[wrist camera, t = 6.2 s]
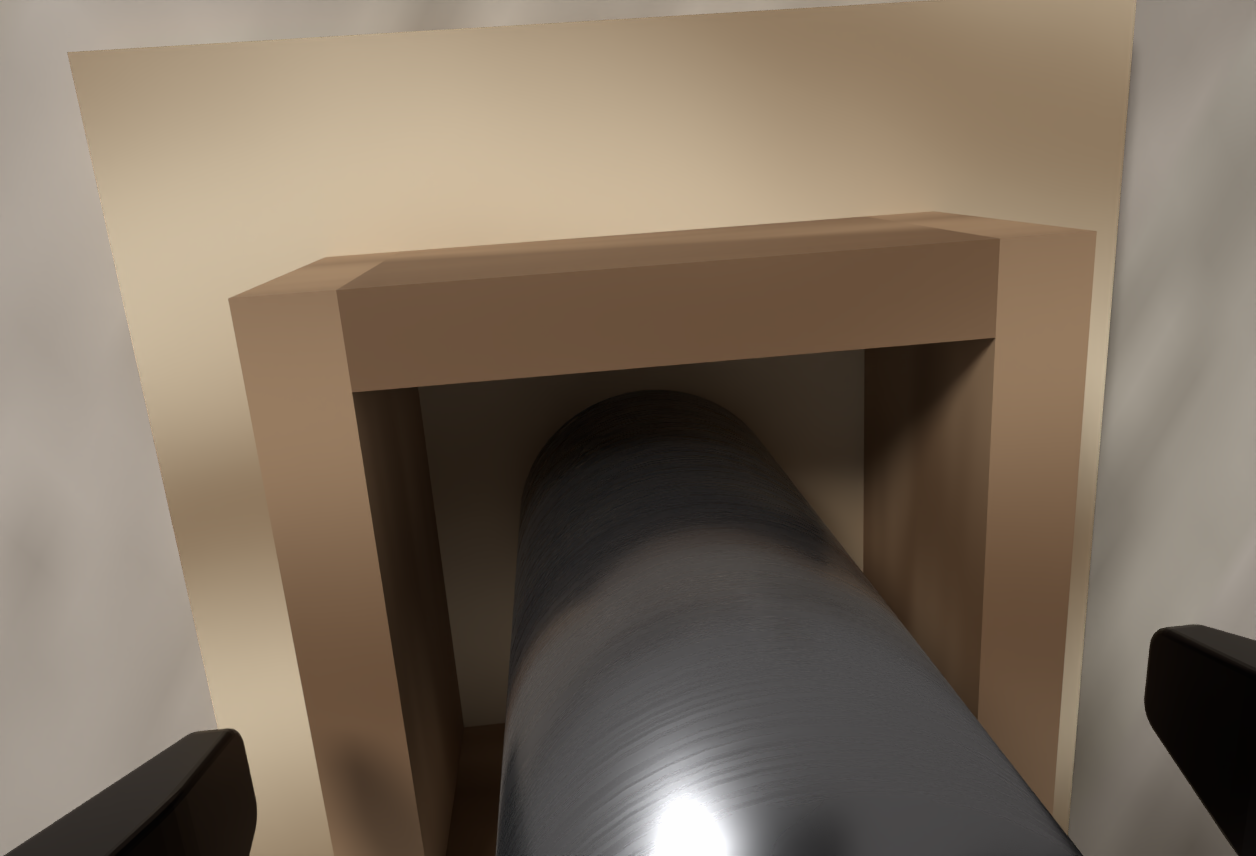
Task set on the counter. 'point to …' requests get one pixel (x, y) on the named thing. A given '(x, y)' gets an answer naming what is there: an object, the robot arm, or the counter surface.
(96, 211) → the counter surface
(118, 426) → the counter surface
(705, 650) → the peg
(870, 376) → the well
